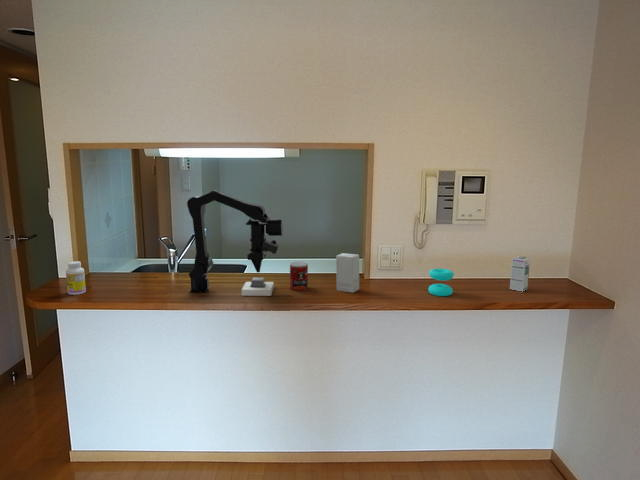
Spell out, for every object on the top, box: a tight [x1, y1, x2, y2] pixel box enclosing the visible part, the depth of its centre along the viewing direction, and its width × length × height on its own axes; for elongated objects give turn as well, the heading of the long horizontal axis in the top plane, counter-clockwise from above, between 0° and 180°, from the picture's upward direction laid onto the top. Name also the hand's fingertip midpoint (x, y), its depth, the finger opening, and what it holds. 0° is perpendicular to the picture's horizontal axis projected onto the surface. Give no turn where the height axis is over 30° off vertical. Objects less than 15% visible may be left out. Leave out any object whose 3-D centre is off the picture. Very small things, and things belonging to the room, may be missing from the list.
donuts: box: [427, 268, 455, 297], centre depth 186 cm, size 10×10×10 cm
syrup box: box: [509, 255, 531, 293], centre depth 192 cm, size 6×6×14 cm
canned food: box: [289, 261, 309, 292], centre depth 191 cm, size 8×8×11 cm
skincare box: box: [335, 252, 360, 293], centre depth 189 cm, size 8×7×16 cm
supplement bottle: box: [65, 260, 87, 296], centre depth 181 cm, size 7×7×13 cm
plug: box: [250, 277, 266, 288], centre depth 186 cm, size 5×4×5 cm
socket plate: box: [241, 281, 275, 297], centre depth 187 cm, size 12×12×2 cm
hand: (258, 272), depth 185 cm, fingers closed
